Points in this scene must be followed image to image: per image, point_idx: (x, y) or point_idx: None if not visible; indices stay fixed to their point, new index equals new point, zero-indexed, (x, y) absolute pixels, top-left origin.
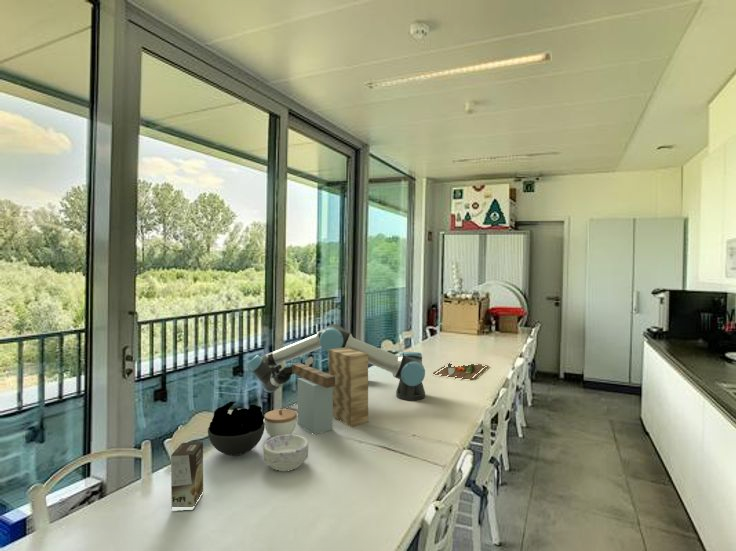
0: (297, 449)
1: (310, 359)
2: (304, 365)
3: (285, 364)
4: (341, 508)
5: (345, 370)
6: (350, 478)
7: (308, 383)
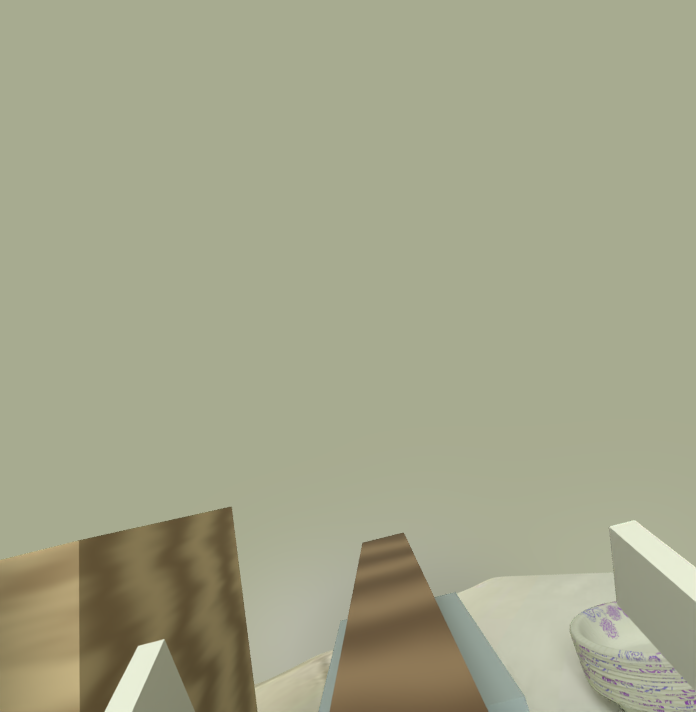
0: (600, 606)
1: (166, 698)
2: (360, 664)
3: (622, 577)
4: (538, 603)
5: (221, 608)
6: (498, 648)
7: (468, 612)
